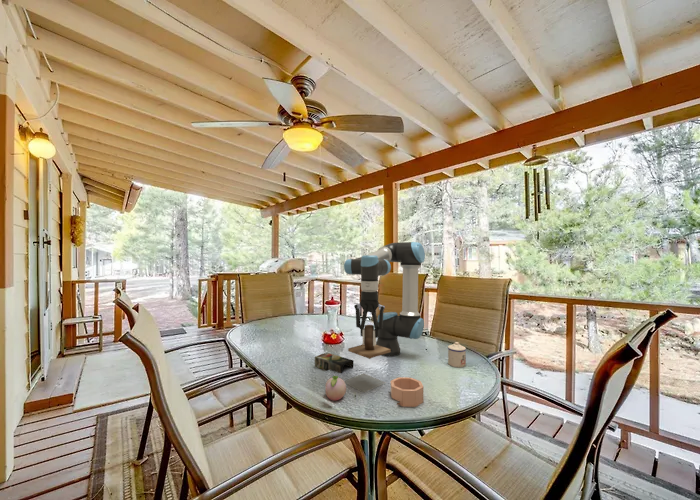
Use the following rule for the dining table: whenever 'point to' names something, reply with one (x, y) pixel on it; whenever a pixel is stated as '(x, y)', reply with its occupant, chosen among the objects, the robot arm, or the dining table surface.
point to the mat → (364, 382)
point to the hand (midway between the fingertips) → (369, 344)
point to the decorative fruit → (335, 388)
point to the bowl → (407, 391)
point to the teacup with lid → (456, 355)
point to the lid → (369, 346)
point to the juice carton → (332, 362)
